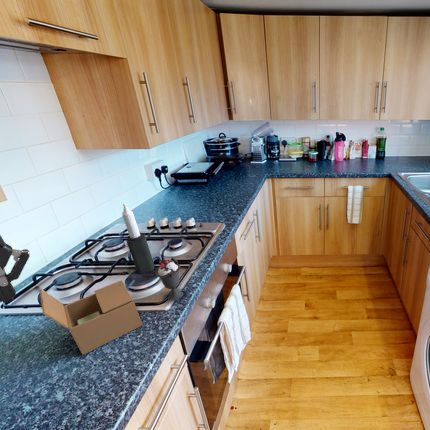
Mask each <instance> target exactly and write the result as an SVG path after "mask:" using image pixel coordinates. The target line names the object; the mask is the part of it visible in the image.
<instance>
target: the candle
mask: <svg viewBox="0 0 430 430" xmlns="http://www.w3.org/2000/svg"><path fill="white" fill-rule="evenodd" d="M122 206H123V212H122V219H123V221H124V224H125V227H126V230H127V234H128V236H126V245H127V248H128V250H129V252H130V255H131V259H132V261H133V264H134V266H135V269H136V272H137V274H139V275H141V274H146V273H149V272H152V271H154V270H155V263H154V260H153V256H152V253H151V249H150V247H149V244H148V241H147V237H146V234H145V233H144V232H140V230H139V226H138V224H137V220H136V217H135V215H134V212H133V211H132V210H131V209H130V208H129V206H127V204H126V203H123V204H122Z"/></svg>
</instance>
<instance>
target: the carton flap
mask: <svg viewBox="0 0 430 430" xmlns="http://www.w3.org/2000/svg"><path fill="white" fill-rule="evenodd" d="M39 296H40V304H41V311H42V314H43V316H46V317H47V318H49V319H51V320H52V321H54V322H55V323H57V324H58V325H60V326H62V327H63V328H65V329H69V326H68V322H67V318H66V314H65V310H64V306H65V305H64V303H63V302H61V301H60V300H59V299H58V298H56V297H54V296H52V294H50V293H48V292H47V291H45V290H44V289H42V288H39Z"/></svg>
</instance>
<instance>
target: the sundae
mask: <svg viewBox="0 0 430 430" xmlns="http://www.w3.org/2000/svg"><path fill="white" fill-rule="evenodd" d="M158 261H160V265H159V267H158V268H157V269H156V270H155V271H154V274H155V276H156V277H157V278H159V279H160V281H161V283H162V285H163V286H164V288H165V289H168V290H171V293H170V294H169V295H168V296H167V299H168V301H171V302H173V301H177V300H180V299H182V297H183V296H184V293H183V291H181V290H177V287H178V285H180V270H181V265H180V263H178V260H177V259H175V258H174V257H171V258H170V259H166V260H164V259H162V258H160V259H159V260H158Z"/></svg>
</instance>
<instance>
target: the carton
mask: <svg viewBox="0 0 430 430" xmlns="http://www.w3.org/2000/svg"><path fill="white" fill-rule="evenodd" d="M93 292H94V293H92V294H90V295H88V296H85V297H83V298H80V299H78V300H74V301H72V302H70V303H67V304H65V305H63V306H64V310H65V314H66V318H67V322H68V326H69V327H68V331H69V332H70V334H71V337H72V339H73V340H74V342H75V344H76V346H77V347H78V349H79V351H80V353H81V354H82V356H84V355H86V354H88V353H90V352H92V351H95V350H96V349H98V348H100V347H102V346H104V345H106V344H108V343H110V342H112V341H114V340H115V339H118V338H120V337H122V336H124V335H126V334H128V333H129V332H132V331H134V330H136V329H138V328H140V327H142V326H143V325H144V324H143V322H142V319H141V317H140V313H139V311H138V309H137V306H136V303H135V301H134V300H133V298H132V296H131V294H130V292H129V291H128V289H127V287H126V285H125V283H124V281H123V280H122V279H121V280H119V281H116V282H113V283H110V284H108V285H106V286H104V287H101V288H98V289H96V290H94V291H93ZM97 311H99V313H100V316H97V317H95V318H93V319H91V320H88V321H86V322H84V323H82V324H79V325H78V322H77V320H79V319H81V318H84V317H86V316H88V315H91V314H93V313H95V312H97Z"/></svg>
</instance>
